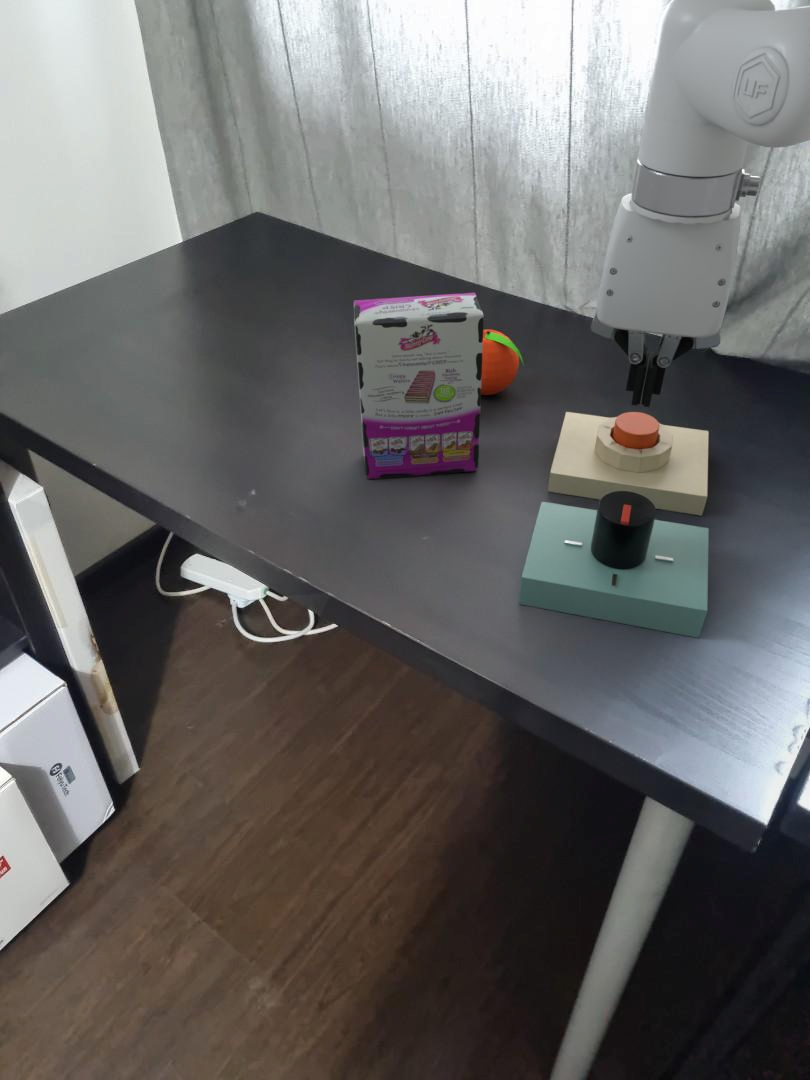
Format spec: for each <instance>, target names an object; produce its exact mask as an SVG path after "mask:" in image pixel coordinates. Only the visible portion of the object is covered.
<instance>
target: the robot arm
mask: <svg viewBox="0 0 810 1080" xmlns="http://www.w3.org/2000/svg"><path fill="white" fill-rule="evenodd" d="M808 141H810V5H805V6H798V7H795V8H786V9H776V6H775V4H774V3H773V2H772V0H671V1H670V2H669V3H668V4H667V6H666V7H665V9H664V11H663V12H662V16H661V19H660V22H659V27H658V33H657V38H656V45H655V52H654V57H653V63H652V69H651V76H650V81H649V87H648V93H647V101H646V106H645V111H644V118H643V124H642V130H641V137H640V142H639V149H638V154H637V162H636V167H635V173H634V178H633V179H634V180H633V186H632V191H631V193H628V194H625V195H624V196H623V197H622V198H621V200H620V203H619V205H618V207H617V211H616V214H615V217H614V221H613V224H612V227H611V232H610V235H609V240H608V244H607V249H606V254H605V259H604V263H603V268H602V274H601V279H600V285H599V289H598V298H597V304H596V305H597V306H596V307H597V308H596V311H595V313H594V316H593V318H592V320H591V323H590V331H591V333H593V334H595V335H598V336H601V337H603V338H606V339H610V340H611V339H612V340H614V341H615V342H616V344H617V345H618V347H620V348H621V350H622V351H623V353H625V355H626V356H627V358H628V359H627V360H628V362H629V363H630V364H629V369H628V375H627V380H626V385H625V391H626V392H632V397H631V402H630V403H631V404H630V405H631V406H635V407H636V406H638V405H640V404H641V405H642V406H643V407H645V408H650V407H651V403H652V397H653V395H654V396H655V395H657V396H660V395H661V392H662V387H663V382H664V378H665V373H666V369H667V368H668V367H669V366H670V365H671V364H672V362H673V361H675V360H676V359H678V358H679V357H681V356H683V355H685V354H686V353H687V352H689V351H691V350H692V349H693V350H695V349H696V350H700V349H701V350H703V349H711V348H717V347H719V346H720V344H721V342H722V341H721V340H722V339H721V337H722V335H721V327H722V324H723V322H724V318H725V314H726V311H727V306H728V301H729V298H730V292H731V289H732V288H731V287H732V283H733V277H734V272H735V266H736V261H737V253H738V245H739V237H740V232H741V223H742V222H741V218H742V217H741V216H742V208H741V206H740V204H739V203H737V202H738V201H740V198H746V196H748V197H749V196H750V197H756V196H757V194H758V192H759V188H760V183H761V182H760V181H761V176H756V175H755V176H754V175H753V176H752V175H751V173H746V169H744V168H743V167H744V166H743V165H744V162H745V158H746V154H747V149H748V146H749V143H750V144H753V145H756V146H758V147H759V146H760V147H764V148H773V149H774V148H787V147H790V146H795V145H799V144H802V143H804V142H808ZM646 333H649V334H657V335H661V338H660V340H659V342H658V345H657V347H655V348H654V349H653V352H652V353H649V352H648V349H649V348H648V347H647V346H646ZM649 354H650V355H649Z"/></svg>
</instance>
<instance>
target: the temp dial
mask: <svg viewBox="0 0 810 1080" xmlns="http://www.w3.org/2000/svg"><path fill="white" fill-rule="evenodd" d="M596 510H597V514H596V519H595V525H594V531H593V536H592V542H591V552H592V554H593V556H594V557H595V558H596V560H598V561H599V562H600V563H602V564H604V565H606V566H608V567H611V568H615V569H631V568H634V567H637V566H639V565H640V564H642V563H643V562H644V560H645V558H646V555H647V550H648V546H649V542H650V538H651V534H652V529H653V525H654V521H655V520H656V515H657V509H656V508H655V506H654V504H653V503H652V502H651V501H650V500H649V499H648V498H646V497H644V496H642V495H640V494H638V493H634V492H630V491H615V492H611V493H608V494H606V495H604V496H603V497H602V498H601V499H600V500H599V501H598V503H597V509H596Z"/></svg>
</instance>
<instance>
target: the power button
mask: <svg viewBox="0 0 810 1080" xmlns="http://www.w3.org/2000/svg"><path fill="white" fill-rule="evenodd" d="M616 417H617V418H616V421H615V426H614V432H613V439H614V441H615V442H616V443H617V444H619V445H621V446H624V447H626V448H631V449H638V450H641V449H647V448H651V447H653V446H654V445H655V443H656V440H657V436H658V431H659V423H660V422H659V421H658V420H657V418H655V417H654V416H652V415H650V414H648V413H644V412H639V411H628V412H623V413H621V414H619V415H618V416H616Z"/></svg>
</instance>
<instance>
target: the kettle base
mask: <svg viewBox="0 0 810 1080" xmlns="http://www.w3.org/2000/svg"><path fill="white" fill-rule="evenodd" d="M617 417H618V416H614V417H608V416H601V415H595V414H586V413H579V412H572V411H565V415H564V417H563V418H564V419H563V423H562V426H561V428H560V429H561V430H560V434H559V437H558V441H557V445H556V449H555V452H554V456H553V460H552V463H551V468H550V472H549V479H548V484H547V485H548V486H547V492H548V493H555V494H562V495H568V496H573V497H574V496H575V497H581V498H587V499H593V500H599V501H600V499H601V498H602V497H603V496H604V495H606V494H608V493H611V492H615V491H630V492H634V493H638V494H640V495H642V496H644V497H646V498H648V499H649V500H650V501H651V502H652V503H653V504H654V506H655V508H656V510H663V511H670V512H676V513H681V514H687V515H688V514H689V515H694V516H700V517H701V516H703V514H704V511H705V506H706V504H707V499H708V488H709V487H708V485H709V483H708V482H709V436H710V435H709V430H702V429H696V428H689V427H682V426H673V425H667V424H662V423H660V422H658V423H659V431H658V436H657V440H656V443H655V445H654V446H653V447H651V448H647V449H641V450H638V449H631V448H626V447H624V446H621V445H619V444H617V443H616V442H615V441H614V439H613V432H614V426H615V421H616V418H617Z"/></svg>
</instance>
